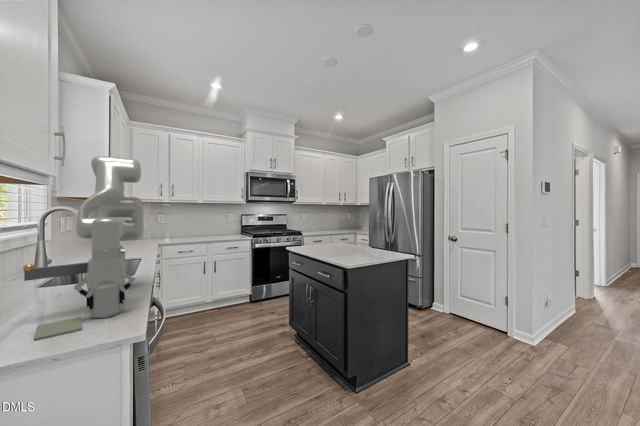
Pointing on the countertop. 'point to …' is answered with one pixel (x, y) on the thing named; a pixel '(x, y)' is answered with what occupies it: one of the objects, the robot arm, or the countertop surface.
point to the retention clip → (53, 271)
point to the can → (106, 300)
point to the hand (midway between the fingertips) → (106, 305)
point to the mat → (58, 328)
